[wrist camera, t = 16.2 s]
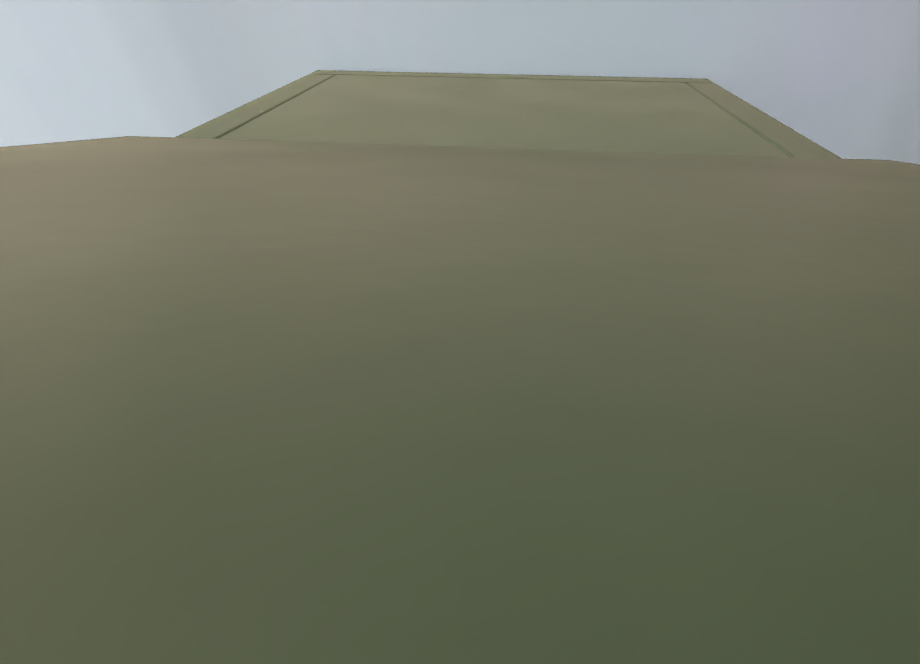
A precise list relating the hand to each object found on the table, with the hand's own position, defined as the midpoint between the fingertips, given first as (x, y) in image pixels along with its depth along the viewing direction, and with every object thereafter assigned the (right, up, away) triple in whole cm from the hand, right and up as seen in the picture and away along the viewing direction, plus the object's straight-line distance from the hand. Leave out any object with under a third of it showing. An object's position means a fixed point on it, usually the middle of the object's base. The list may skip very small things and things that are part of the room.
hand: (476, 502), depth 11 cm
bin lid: (0, +3, -8) cm, 8 cm away
